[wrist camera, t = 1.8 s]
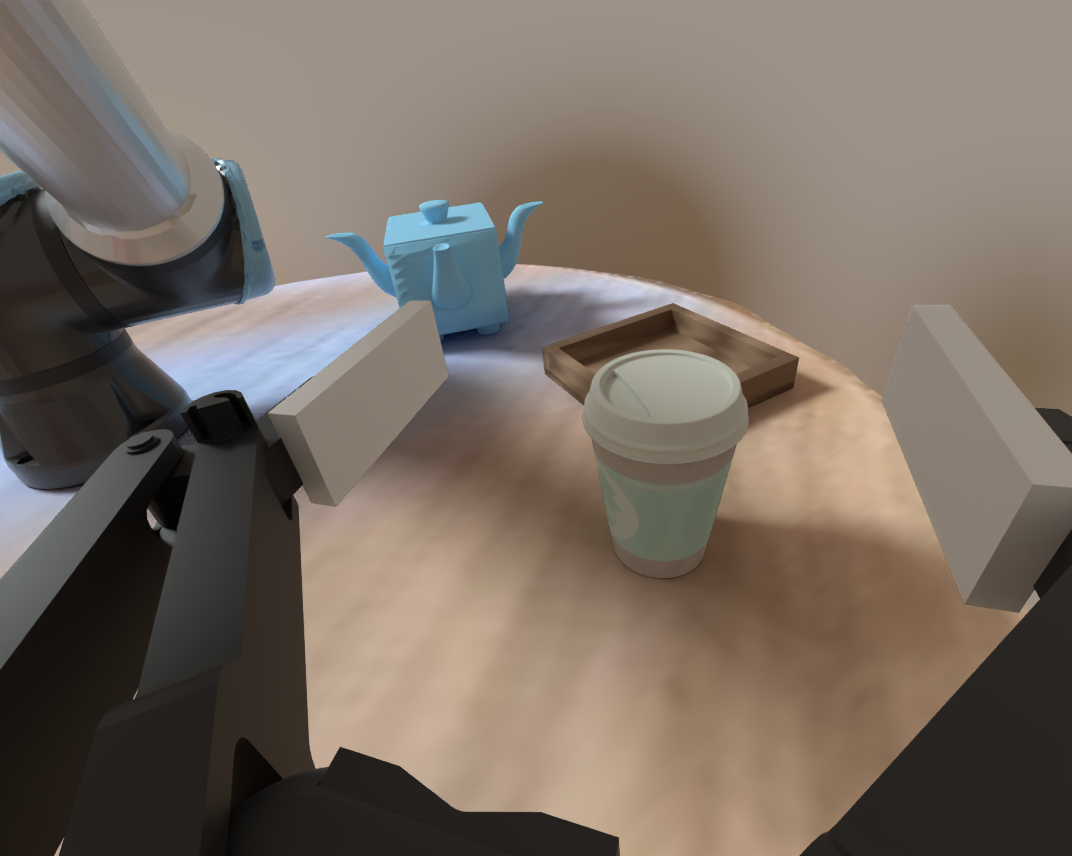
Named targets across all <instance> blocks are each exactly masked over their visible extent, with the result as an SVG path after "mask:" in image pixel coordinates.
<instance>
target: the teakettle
mask: <svg viewBox="0 0 1072 856" xmlns="http://www.w3.org/2000/svg"><path fill="white" fill-rule="evenodd" d="M542 203H543V201H539V202H532V203H527V204H523V205H520V206H518V207H517V208H516V209H515V210H514V211H513V213H512V215H511V217H510V220H509V224H508V228H507V233H506V237H505V240H504V241H503V243H502V244H501V246H500V247H499V245H498V238H497V231H496V228H495V226H494V224H493V223H492V221H491V219H490V217H489V215H488V213H487V212H486V210H485V208H484V206H483V205H482V203H474V204H468V205H462V206H455V207H450V208H448V207H449V205H448V204H449V202H448V201H446V200H434V201H428V202H425V203H422V204H421V205H420V206H419V208H420V210H421V212H418V213H411V214H405V215H399V216H392V217H389V219H388V223H387V228H386V233H385V240H384V246H383V249H384V252H385V256H386V260H387V263H388V265H387V264H385V263H383V262H382V261H381V260H380V259H379V258H378V257H377V255H376V254H375V253H374V251H373V250H372V248H371V247H370V246H369V244H368V243H367V242H366V241H365V240H364V239H363V238H362V237H360V236H359V235H357V234H355V233H338V234H333V235H328V236H326V237H327V238H329V239H333V240H336V241H339V242H342V243H343V244H345V245H347V246H348V247H350V248H351V249H352V250H353V251H354V252H355V253H356V255H357V256H358V257H359V259H360V260H361V261H362V263H363V265H364V266H365V268H366V270H367V271H368V273H369V275H370V276H371V277H372V279H373V280H374V282H375V283H376V284H377V285H378V286H379V287H380V288H381V289H382V290H383V291H384V292H386V293H388V294H390V295H392V296H394V297H397V300H398V304H399V307H400V308H401V307H402V306H404V305H405V304H406V303H407V302H409V301H431V304H432V308H433V312H434V316H435V321H436V325H437V329H438V333H439V338H440V342H441V341H442V340H443V339H444V334H449V333H455V332H460V331H466V330H471V329H477V331H478V333H480V334H493V333H496V332H498V331H500V330H501V326H500V325H499V324H504V323H509V322H510V319H509V312H508V305H507V299H506V292H505V285H504V278H506V277H507V276H508V275H509V274H510V273H511V272H512V270H513V269H514V267H515V265H516V262H517V259H518V256H519V250H520V244H521V237H522V231H523V227H524V224H525V222H526V219H527V217H528V216H529V215H530V213H531V212H532V211H533V210H534V209H536V208H537V207H538V206H539V205H541V204H542Z"/></svg>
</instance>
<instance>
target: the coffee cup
mask: <svg viewBox="0 0 1072 856" xmlns="http://www.w3.org/2000/svg"><path fill="white" fill-rule="evenodd" d="M583 424H584V427H585V429H586V431H587V433H588V434H589V435H590V437H591V438H592V443H593V448H594V453H595V458H596V463H597V468H598V473H599V478H600V483H601V488H602V493H603V498H604V503H605V508H606V513H607V518H608V523H609V528H610V533H611V538H612V543H613V547H614V550H615V553H616V555H617V556H618V558H619V559H620V560H621V561H622V563H623V564H625V565H626V566H627V567H628V568H630V569H631V570H633V571H635V572H637V573H639V574H642V575H645V576H648V577H653V578H673V577H678V576H681V575H684V574H686V573H688V572H690V571H691V570H693V569H694V568H695V567H696V566H697V565H698V564H699V563H700V562H701V560H702V558H703V556H704V553H705V550H706V547H707V543H708V540H709V537H710V534H711V530H712V527H713V523H714V520H715V517H716V513H717V510H718V506H719V503H720V500H721V496H722V493H723V489H724V486H725V483H726V479H727V476H728V472H729V469H730V465H731V462H732V459H733V455H734V452H735V448H736V445H737V443H738V442H739V441H740V440H741V439H742V437H743V436H744V435H745V433H746V431H747V428H748V424H749V417H748V405H747V401H746V399H745V397H744V395H743V393H742V387H741V383H740V380H739V378H738V376H737V375H736V373H735V372H734V371H733V370H732V369H731V368H729V367H728V366H727V365H725V364H724V363H722V362H720V361H719V360H716V359H714V358H712V357H709V356H706V355H703V354H699V353H695V352H690V351H683V350H670V349H660V350H647V351H640V352H636V353H631V354H628V355H625V356H622V357H619V358H617V359H614V360H612V361H611V362H609V363H607V364H606V365H604V366H603V367H602V368H601V369H600V370H599V371H598V372H597V373H596V374H595V376H594V378H593V380H592V383H591V387H590V391H589V392H588V394H587V396H586V399H585V402H584V410H583Z"/></svg>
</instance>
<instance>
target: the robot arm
mask: <svg viewBox="0 0 1072 856" xmlns="http://www.w3.org/2000/svg"><path fill="white" fill-rule="evenodd" d="M0 151H1V152H2V153H3V154H4V155H5V156H6V157H7V158H9V159H10V160H11V161H12V162H13V163H14V164H16V165H17V166H18V167H19V168H20V169H21V170H22V171H17V172H13V173H9V174H5V175H2V176H0V447H1V451H2V454H3V457H4V460H5V462H6V463H7V465H8V467H9V468H10V469H11V470H12V471H13V472H14V473H15V474H16V476H17V477H18V478H19V479H20V480H21V481H22V482H23V483H24V484H25V485H27V486H30V487H33V488H40V489H54V488H63V487H69V486H74V485H79V484H83V483H85V484H84V485H83V486H82V487H81V489H80V490H79V491H78V492H77V493H76V494H75V495H74V496H73V498H72V499H71V500H70V501H69V502H68V503H67V504H66V506H65V507H64V508H63V509H62V510H61V511H60V512H59V514H58V515H57V516H56V517H55V518H54V519H53V520H52V521H51V523H50V524H49V525H48V526H47V527H46V528H45V529H44V531H43V532H42V533H41V534H40V535H39V536H38V537H37V539H36V540H35V541H34V542H33V543H32V544H31V545H30V546H29V548H28V549H27V550H26V551H25V552H24V553H23V554H22V556H21V557H20V558H19V559H18V560H17V561H16V562H15V563H14V565H13V566H12V567H11V568H10V569H9V570H8V571H7V573H6V574H5V575H4V576H3V577H2V578H1V579H0V856H54V855H55V853H56V851H57V849H58V847H59V845H60V844H61V842H62V840H63V838H64V840H63V843H62V847H61V850H60V853H59V856H620V849H619V837H616V836H612V835H609V834H606V833H603V832H600V831H597V830H594V829H591V828H588V827H585V826H582V825H579V824H576V823H573V822H569V821H566V820H563V819H560V818H557V817H554V816H551V815H548V814H545V813H542V812H463V811H459V810H456V809H454V808H453V807H451V806H450V805H449V804H448V803H446V802H445V801H444V800H442V799H441V798H440V797H439V796H437V795H436V794H435V793H433V792H432V791H431V790H430V789H428V788H427V787H426V786H424V785H423V784H422V783H421V782H419V781H418V780H417V779H415V778H414V777H413V776H412V775H410V774H409V773H408V772H406V771H405V770H404V769H403V768H401V767H400V766H398V765H394V764H391V763H388V762H385V761H382V760H379V759H376V758H373V757H370V756H367V755H364V754H361V753H358V752H355V751H352V750H348V749H345V748H342V747H340V748H339V750H338V751H337V753H336V755H335V757H334V759H333V760H332V762H331V764H330V766H329V767H325V768H319V769H316V768H315V766H314V763H313V760H312V756H311V752H310V746H309V731H308V708H307V686H306V664H305V641H304V619H303V596H302V574H301V551H300V529H299V506H298V504H297V501H296V499H295V497H294V495H293V494H294V493H295V492H296V491H297V490H298V489H299V488H300V487H301V486H302V485H303V487H304V489H305V491H306V493H307V495H308V497H309V499H310V501H311V503H315V504H322V505H328V506H335V507H336V506H337V505H338V504H339V503H340V502H341V500H342V499H343V498H344V497H345V496H346V495H347V494H348V492H349V491H350V490H351V489H352V488H353V487H354V485H355V484H356V483H357V482H358V481H359V480H360V478H361V477H362V476H363V475H364V474H365V473H366V471H367V470H368V469H369V468H370V467H371V466H372V465H373V463H374V462H375V461H376V460H377V459H378V458H379V456H380V455H381V454H382V453H383V452H384V451H385V449H386V448H387V447H388V446H389V445H390V444H391V443H392V441H393V440H394V439H395V438H396V437H397V436H398V434H399V433H400V432H401V431H402V430H403V429H404V427H405V426H406V425H407V424H408V423H409V422H410V420H411V419H412V418H413V417H414V416H415V415H416V414H417V412H418V411H419V410H420V409H421V408H422V407H423V405H424V404H425V403H426V402H427V401H428V400H429V398H430V397H431V396H432V395H433V394H434V393H435V391H436V390H437V389H438V388H439V387H440V386H441V385H442V383H443V382H444V381H445V380H446V379H447V378H448V376H449V375H448V371H447V367H446V363H445V359H444V354H443V350H442V346H441V342H440V338H439V333H438V329H437V325H436V321H435V316H434V312H433V308H432V304H431V301H409V302H407V303H406V304H405V305H404V306H402V307H401V308H400V309H399V310H397V311H396V312H395V313H394V314H392V315H391V316H390V317H388V318H387V319H386V320H385V321H383V322H382V323H381V324H380V325H378V326H377V327H376V328H375V329H373V330H372V331H371V332H369V333H368V334H367V335H366V336H364V337H363V338H362V339H361V340H359V341H358V342H357V343H356V344H354V345H353V346H352V347H350V348H349V349H348V350H347V351H345V352H344V353H343V354H342V355H340V356H339V357H338V358H337V359H335V360H334V361H333V362H331V363H330V364H329V365H328V366H326V367H325V368H324V369H323V370H321V371H320V372H319V373H318V374H316V375H315V376H313V377H311V378H310V379H308V380H307V381H306V382H305V383H303V384H302V385H301V386H300V387H298V389H297V390H294V391H293V392H292V393H291V394H289V395H288V397H287V398H284V399H283V400H282V401H280V402H279V403H278V404H277V405H275V406H274V407H273V408H272V409H270V410H269V411H268V412H266V413H265V414H264V415H263V416H261V417H260V418H259V419H258V420H256V421H255V419H254V417H253V415H252V413H251V411H250V409H249V407H248V405H247V403H246V401H245V399H244V397H243V395H242V393H241V392H239V391H236V390H225V391H220V392H215V393H212V394H209V395H206V396H203V397H201V398H199V399H197V400H195V401H193V402H192V401H191V400H190V398H189V396H188V395H187V393H186V391H185V390H184V389H183V388H182V387H181V386H180V385H179V384H178V383H177V382H176V381H175V380H173V379H172V378H171V377H170V376H169V375H168V374H166V373H165V372H164V371H163V370H162V369H161V368H159V367H158V366H157V365H156V364H155V363H154V362H153V361H151V360H150V359H149V358H148V357H147V356H146V355H144V354H143V353H142V352H141V351H140V350H139V349H138V348H137V347H136V346H135V344H134V343H133V341H132V340H131V338H130V336H129V335H128V333H127V332H126V330H125V328H127V327H131V326H135V325H139V324H143V323H148V322H152V321H157V320H161V319H165V318H170V317H174V316H179V315H183V314H188V313H192V312H197V311H201V310H206V309H210V308H214V307H219V306H223V305H228V304H232V303H235V304H243V303H244V302H245V301H246V300H249V299H252V298H256V297H259V296H263V295H266V294H268V293H269V292H271V291H272V289H273V288H274V286H275V275H274V272H273V268H272V265H271V261H270V258H269V255H268V252H267V249H266V245H265V242H264V239H263V235H262V232H261V228H260V225H259V222H258V218H257V215H256V212H255V209H254V206H253V202H252V199H251V196H250V193H249V190H248V187H247V183H246V180H245V177H244V174H243V171H242V169H241V168H240V166H239V164H237V163H236V162H235V161H232V160H221V159H219V158H218V159H212V160H211V159H210V158H209V156H208V155H207V154H206V153H205V152H204V151H203V150H202V149H201V148H200V147H199V146H198V145H197V144H195V143H194V142H193V141H191V140H190V139H188V138H187V137H185V136H184V135H182V134H180V133H178V132H175V131H173V130H171V129H168V128H166V127H165V126H164V124H163V122H162V121H161V119H160V118H159V116H158V115H157V113H156V112H155V110H154V109H153V107H152V106H151V104H150V103H149V101H148V99H147V98H146V96H145V95H144V93H143V92H142V90H141V89H140V87H139V86H138V84H137V83H136V81H135V80H134V78H133V76H132V75H131V74H130V72H129V70H128V69H127V67H126V66H125V64H124V63H123V61H122V60H121V58H120V57H119V55H118V54H117V52H116V50H115V49H114V47H113V46H112V44H111V43H110V41H109V40H108V38H107V37H106V35H105V34H104V32H103V31H102V29H101V28H100V26H99V24H98V23H97V21H96V20H95V18H94V17H93V15H92V14H91V12H90V11H89V9H88V8H87V6H86V5H85V3H84V2H83V0H0ZM41 187H42V188H43V189H40V188H41ZM882 403H883V405H884V408H885V410H886V413H887V415H888V418H889V420H890V423H891V425H892V427H893V430H894V432H895V435H896V437H897V440H898V442H899V445H900V447H901V450H902V452H903V455H904V457H905V459H906V462H907V464H908V467H909V469H910V472H911V474H912V477H913V479H914V482H915V484H916V487H917V489H918V491H919V494H920V496H921V499H922V501H923V504H924V506H925V509H926V511H927V514H928V516H929V519H930V521H931V523H932V526H933V528H934V531H935V533H936V536H937V538H938V541H939V543H940V546H941V548H942V550H943V553H944V555H945V558H946V560H947V563H948V565H949V568H950V570H951V573H952V575H953V578H954V580H955V582H956V585H957V587H958V590H959V592H960V595H961V597H962V600H963V602H964V604H966V605H973V606H979V607H985V608H992V609H998V610H1005V611H1011V612H1018V613H1019V612H1020V610H1021V609H1022V607H1023V606H1024V604H1025V603H1026V601H1027V600H1028V598H1029V597H1030V596H1031V594H1032V593H1033V591H1034V590H1036V592H1037V594H1038V596H1039V597H1040V600H1039V601H1038V602H1037V603H1036V604H1035V606H1034V607H1033V608H1032V609H1031V610H1030V611H1029V612H1028V613H1027V614H1026V615H1025V616H1024V618H1023V619H1022V620H1021V621H1020V622H1019V623H1018V624H1017V625H1016V626H1015V628H1014V629H1013V630H1012V631H1011V632H1010V633H1009V634H1008V635H1007V636H1006V637H1005V639H1004V640H1003V641H1002V642H1001V643H1000V644H999V645H998V646H997V647H996V649H995V650H994V651H993V652H992V653H991V654H990V655H989V656H988V657H987V658H986V660H985V661H984V662H983V663H982V664H981V665H980V666H979V667H978V668H977V669H976V671H975V672H974V673H973V674H972V675H971V676H970V677H969V678H968V679H967V681H966V682H965V683H964V684H963V685H962V686H961V687H960V688H959V689H958V690H957V692H956V693H955V694H954V695H953V696H952V697H951V698H950V699H949V700H948V701H947V703H946V704H945V705H944V706H943V707H942V708H941V709H940V710H939V711H938V713H937V714H936V715H935V716H934V717H933V718H932V719H931V720H930V721H929V722H928V724H927V725H926V726H925V727H924V728H923V729H922V730H921V731H920V732H919V733H918V735H917V736H916V737H915V738H914V739H913V740H912V741H911V742H910V743H909V745H908V746H907V747H906V748H905V749H904V750H903V751H902V752H901V753H900V754H899V756H898V757H897V758H896V759H895V760H894V761H893V762H892V763H891V764H890V766H889V767H888V768H887V769H886V770H885V771H884V772H883V773H882V774H881V775H880V777H879V778H878V779H877V780H876V781H875V782H874V783H873V784H872V785H871V786H870V788H869V789H868V790H867V791H866V792H865V793H864V794H863V795H862V796H861V798H860V799H859V800H858V801H857V802H856V803H855V804H854V805H853V806H852V807H851V809H850V810H849V811H848V812H847V813H846V814H845V815H844V816H843V817H842V818H841V820H840V821H839V822H838V823H837V824H836V825H835V826H834V827H833V828H832V829H831V830H829V831H828V832H826V833H823V834H821V835H820V836H819V837H818V838H817V839H816V840H815V841H813V842H812V843H811V844H810V845H809V846H808V847H807V848H806V849H805V850H804V851H803V853H802V854H801V855H800V856H1072V417H1071V416H1069V415H1068V414H1066V413H1064V412H1063V411H1061V410H1059V409H1045V408H1034V407H1033V406H1032V404H1031V403H1030V402H1029V401H1028V400H1027V398H1026V397H1025V396H1024V395H1023V393H1022V392H1021V391H1020V390H1019V389H1018V387H1017V386H1016V385H1015V384H1014V382H1013V381H1012V380H1011V379H1010V378H1009V376H1008V375H1007V374H1006V373H1005V371H1004V370H1003V369H1002V368H1001V367H1000V366H999V364H998V363H997V362H996V361H995V359H994V358H993V357H992V355H991V354H990V353H989V352H988V351H987V349H986V348H985V347H984V346H983V344H982V343H981V342H980V341H979V340H978V338H977V337H976V336H975V335H974V333H973V332H972V331H971V330H970V329H969V327H968V326H967V325H966V324H965V322H963V320H962V319H961V318H960V316H959V315H958V314H957V313H956V311H955V310H954V309H953V308H952V307H951V305H923V304H919V305H918V304H917V305H915V304H912V307H911V310H910V313H909V316H908V319H907V323H906V326H905V329H904V332H903V335H902V338H901V342H900V345H899V348H898V351H897V354H896V358H895V361H894V364H893V367H892V370H891V373H890V376H889V380H888V383H887V386H886V389H885V393H884V395H883V399H882ZM188 427H189V429H190V430H191V432H192V434H193V435H194V437H195V439H196V440H197V442H198V444H191V445H182V446H180V444H179V442H178V441H177V438H178V437H179V436H180V435H181V434H182V433H183V432H184V431H185V430H186V429H187V428H188ZM147 508H148V509H149V511H150V512H151V513H152V515H153V516H154V518H155V519H156V520H157V523H156V524H155V526H154V528H153V529H152V528H151V527H150V524H149V522H148V520H147ZM137 689H138V691H137ZM136 691H137V694H136V697H135V699H134V700H132V699H133V697H134V695H135V693H136ZM64 836H65V837H64Z"/></svg>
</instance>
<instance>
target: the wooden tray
mask: <svg viewBox="0 0 1072 856" xmlns="http://www.w3.org/2000/svg"><path fill="white" fill-rule="evenodd" d="M660 349H670V350H683V351H690V352H695V353H699V354H703V355H706V356H709V357H712V358H714V359H716V360H719V361H720V362H722V363H724V364H725V365H727V366H728V367H729V368H731V369H732V370H733V371H734V372H735V373H736V375H737V376H738V378H739V380H740V383H741V387H742V393H743V395H744V397H745V399H746V401H747V405H748V408H749V407H751V406H753V405H755V404H758V403H760V402H762V401H764V400H767V399H769V398H771V397H773V396H776V395H778V394H780V393H782V392H784V391H787V390H789V389H791V388H793V386H794V381H795V376H796V371H797V366H798V361H799V357H797V356H794V355H792V354H790V353H787V352H785V351H783V350H780V349H778V348H776V347H773V346H771V345H769V344H766V343H764V342H762V341H759V340H757V339H755V338H752V337H750V336H748V335H745V334H743V333H741V332H739V331H736V330H734V329H732V328H729V327H727V326H725V325H722V324H720V323H718V322H715V321H713V320H711V319H708V318H706V317H704V316H701V315H699V314H697V313H694V312H692V311H690V310H687V309H685V308H683V307H681V306H678V305H676V304H674V303H672V304H669V305H666V306H663V307H660V308H657V309H654V310H651V311H648V312H645V313H642V314H639V315H636V316H633V317H630V318H628V319H625V320H622V321H619V322H616V323H613V324H610V325H607V326H604V327H601V328H598V329H595V330H592V331H589V332H586V333H583V334H580V335H577V336H574V337H571V338H568V339H565V340H562V341H559V342H556V343H553V344H550V345H547V346H544V347H542V352H543V361H544V370H545V374H546V375H547V376H548V377H550V378H551V379H552V380H553V381H555V382H556V383H557V384H558V385H559V386H561V387H562V388H563V389H564V390H566V391H567V392H568V393H569V394H570V395H572V396H573V397H574V398H575V399H577V400H578V401H579V402H580V403H581V404H583V405H584V402H585V399H586V396H587V394H588V392H589V391H590V387H591V383H592V380H593V378H594V376H595V374H596V373H597V372H598V371H599V370H600V369H601V368H602V367H603V366H604V365H606V364H607V363H609V362H611V361H612V360H614V359H617V358H619V357H622V356H625V355H628V354H631V353H636V352H640V351H647V350H660Z"/></svg>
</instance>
